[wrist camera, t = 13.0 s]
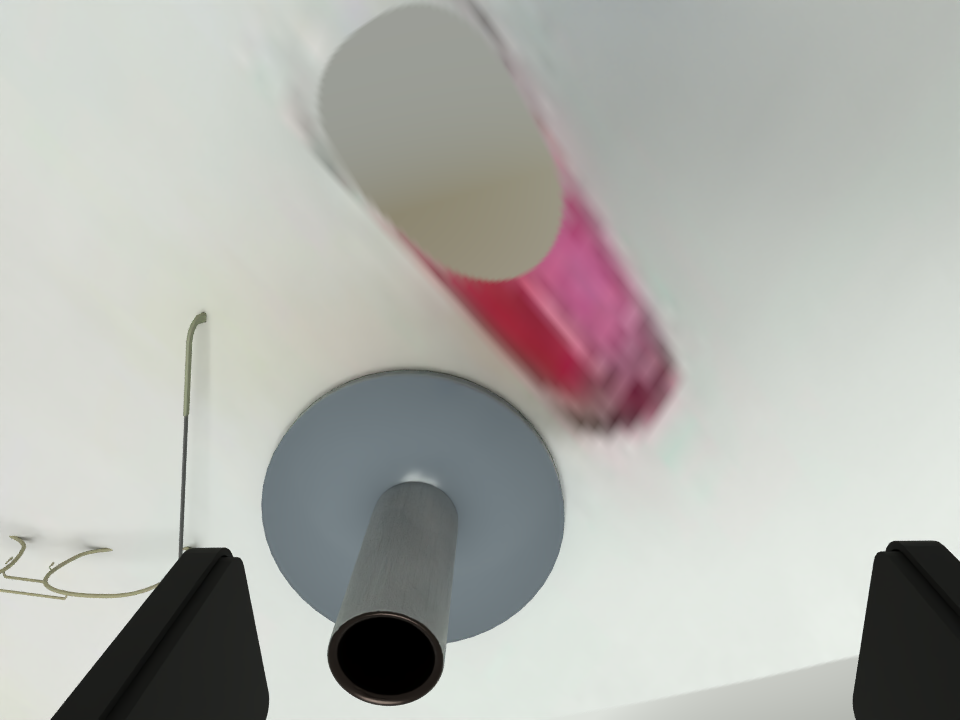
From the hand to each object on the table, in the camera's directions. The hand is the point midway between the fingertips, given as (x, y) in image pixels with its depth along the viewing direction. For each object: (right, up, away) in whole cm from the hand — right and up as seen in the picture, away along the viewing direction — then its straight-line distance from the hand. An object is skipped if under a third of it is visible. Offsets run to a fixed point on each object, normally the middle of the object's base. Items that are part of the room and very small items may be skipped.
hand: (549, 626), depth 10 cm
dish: (-5, -4, +27) cm, 28 cm away
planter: (-4, -4, +26) cm, 27 cm away
